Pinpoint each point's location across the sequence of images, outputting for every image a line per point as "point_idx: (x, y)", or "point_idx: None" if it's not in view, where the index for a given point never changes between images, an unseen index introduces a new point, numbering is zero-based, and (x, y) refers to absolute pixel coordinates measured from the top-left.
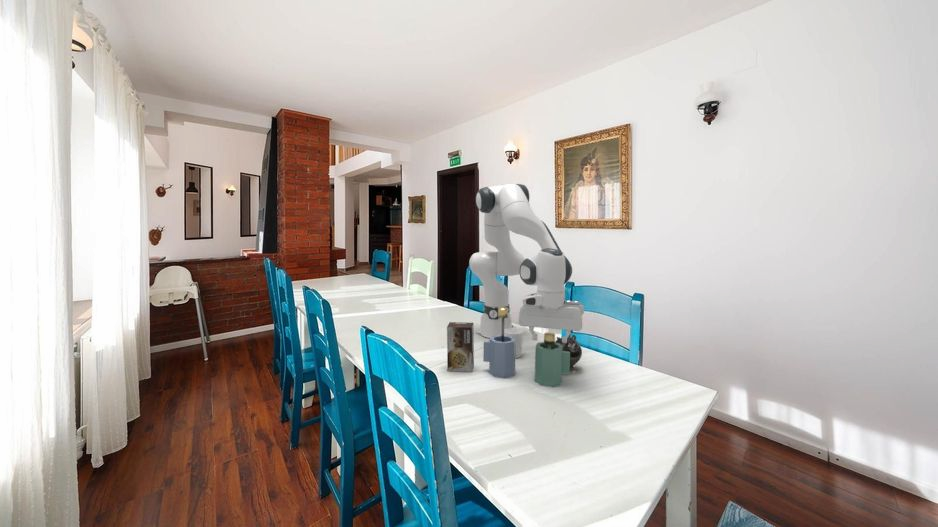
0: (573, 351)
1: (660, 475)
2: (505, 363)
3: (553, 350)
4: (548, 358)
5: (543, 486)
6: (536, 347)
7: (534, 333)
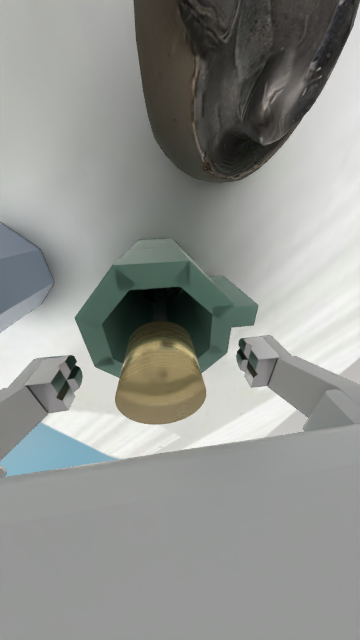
0: (278, 138)
1: (279, 422)
2: (11, 323)
3: None
4: None
5: None
6: (103, 366)
7: (28, 404)
